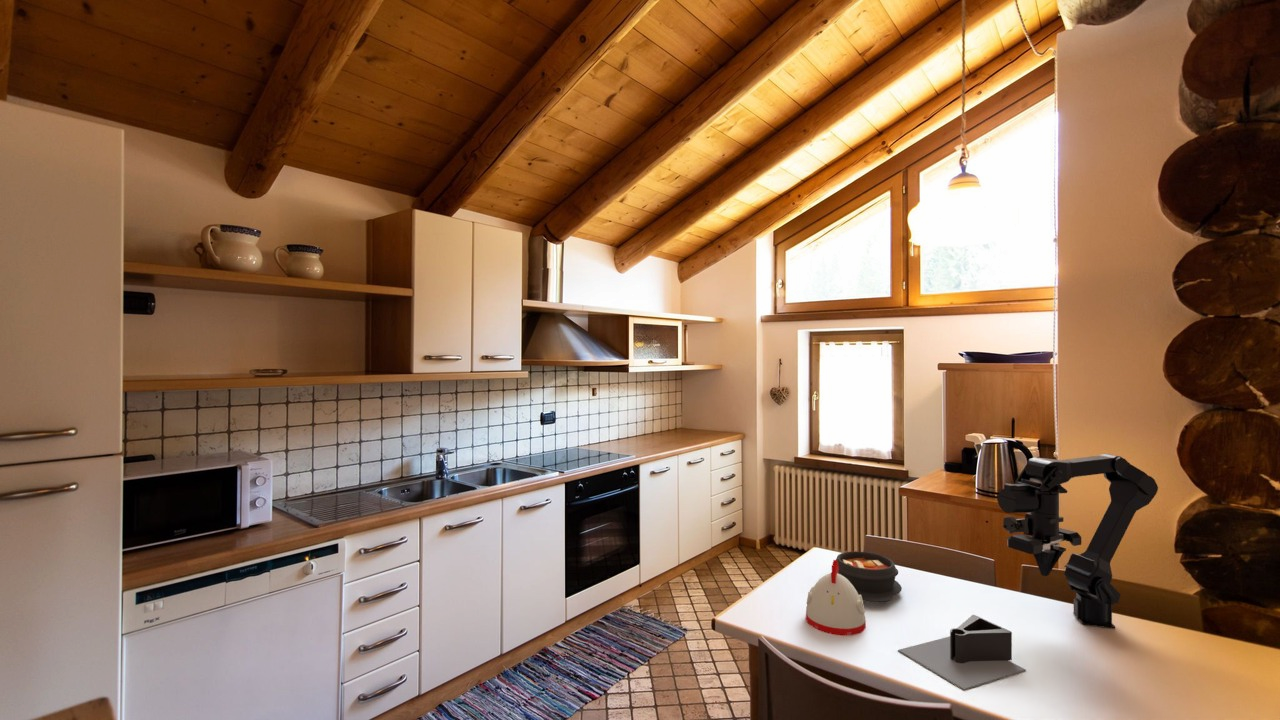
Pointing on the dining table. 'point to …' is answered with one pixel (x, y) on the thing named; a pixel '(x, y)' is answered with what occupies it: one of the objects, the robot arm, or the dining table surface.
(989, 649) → the phone stand
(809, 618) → the kitchen timer
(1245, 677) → the dining table surface
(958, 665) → the mat
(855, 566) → the casserole
